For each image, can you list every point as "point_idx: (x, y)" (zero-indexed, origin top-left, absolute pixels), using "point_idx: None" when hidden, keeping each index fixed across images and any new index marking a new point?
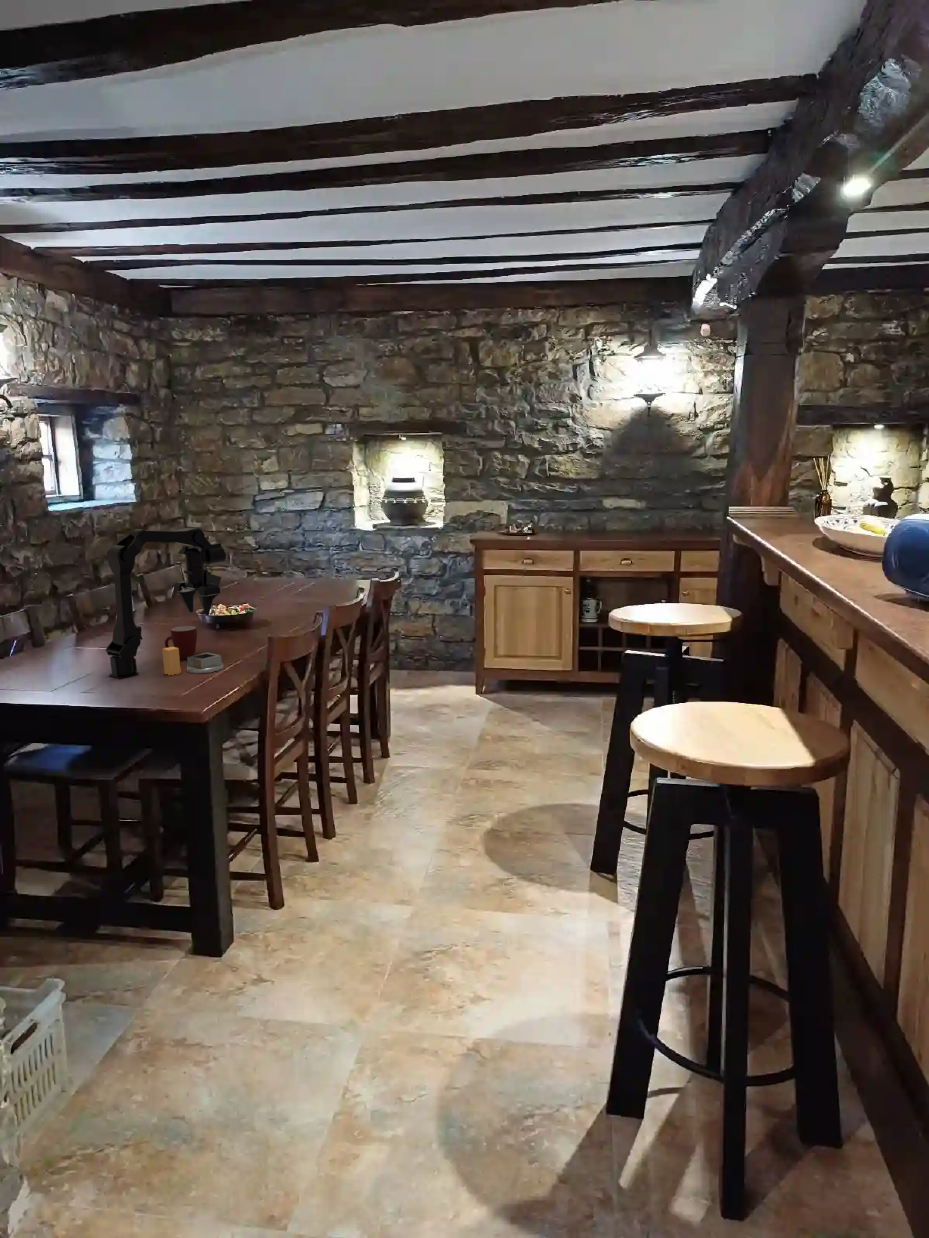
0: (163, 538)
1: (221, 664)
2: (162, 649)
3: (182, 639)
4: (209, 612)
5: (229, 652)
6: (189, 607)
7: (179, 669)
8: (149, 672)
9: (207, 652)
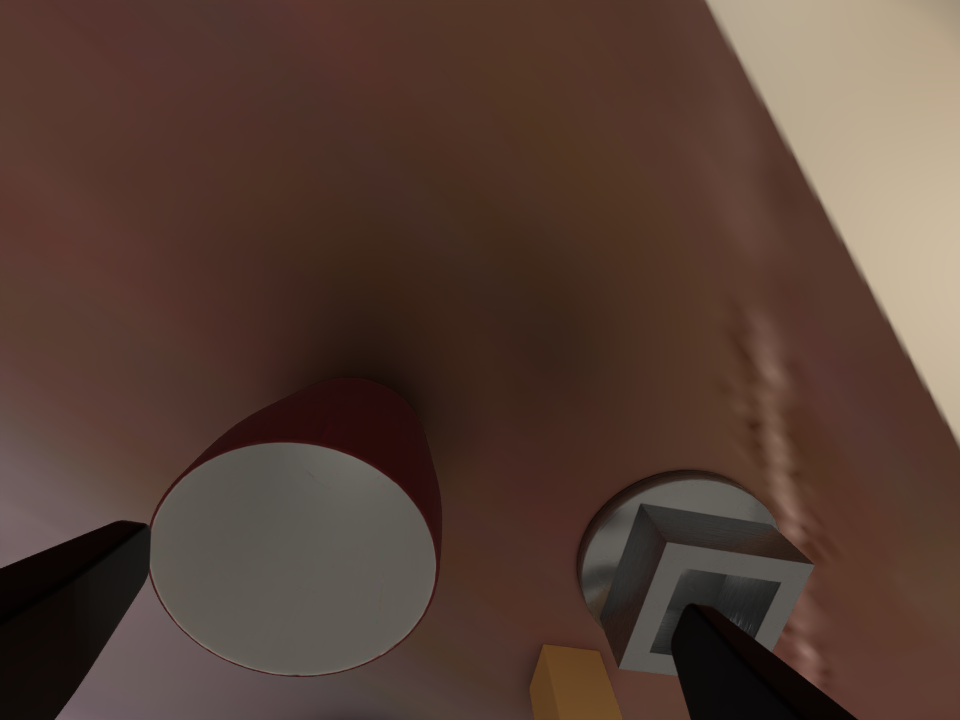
0: None
1: (771, 528)
2: None
3: (398, 584)
4: (751, 637)
5: (533, 165)
6: (56, 688)
7: (604, 675)
8: (430, 698)
9: (671, 545)
